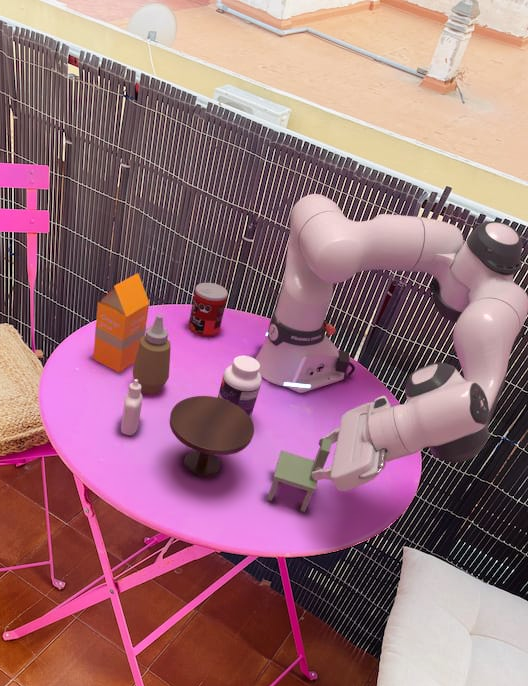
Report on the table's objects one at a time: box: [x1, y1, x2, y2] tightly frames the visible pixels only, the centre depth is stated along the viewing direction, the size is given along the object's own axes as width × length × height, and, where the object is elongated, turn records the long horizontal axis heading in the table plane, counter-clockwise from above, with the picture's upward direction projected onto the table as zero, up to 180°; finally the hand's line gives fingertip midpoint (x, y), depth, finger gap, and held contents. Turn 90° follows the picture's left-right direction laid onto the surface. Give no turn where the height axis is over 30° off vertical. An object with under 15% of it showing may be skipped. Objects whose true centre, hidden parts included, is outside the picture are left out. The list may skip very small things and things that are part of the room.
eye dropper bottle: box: [120, 379, 143, 436], centre depth 137 cm, size 4×6×12 cm
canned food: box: [188, 282, 228, 338], centre depth 169 cm, size 8×8×11 cm
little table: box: [169, 395, 255, 478], centre depth 132 cm, size 16×16×11 cm
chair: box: [266, 438, 332, 512], centre depth 129 cm, size 8×8×14 cm
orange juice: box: [92, 272, 150, 373], centre depth 151 cm, size 8×9×20 cm
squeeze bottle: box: [132, 314, 172, 396], centre depth 146 cm, size 8×8×18 cm
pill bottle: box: [217, 355, 263, 419], centre depth 143 cm, size 8×8×14 cm
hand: (316, 459), depth 127 cm, fingers open, 8 cm apart
